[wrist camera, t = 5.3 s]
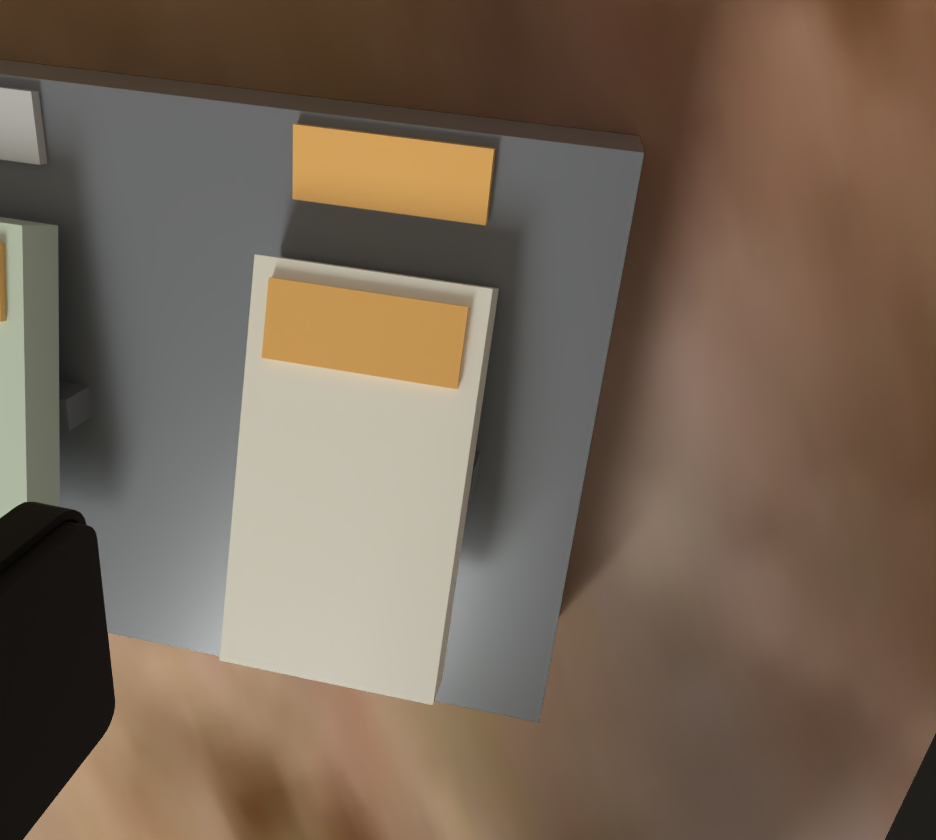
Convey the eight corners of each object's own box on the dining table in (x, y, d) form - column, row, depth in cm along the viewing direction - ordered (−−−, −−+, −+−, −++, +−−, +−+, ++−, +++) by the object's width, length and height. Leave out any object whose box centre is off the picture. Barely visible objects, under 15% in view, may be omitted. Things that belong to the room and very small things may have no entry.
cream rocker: (442, 679, 22) (431, 709, 21) (241, 638, 23) (216, 663, 22) (499, 288, 20) (491, 289, 19) (276, 256, 21) (251, 254, 19)
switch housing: (551, 626, 31) (535, 748, 25) (-14, 516, 33) (-139, 605, 28) (639, 135, 23) (645, 157, 18) (-100, 47, 26) (-295, 42, 20)
